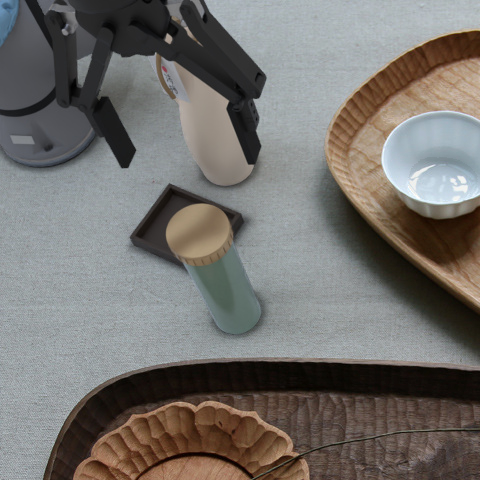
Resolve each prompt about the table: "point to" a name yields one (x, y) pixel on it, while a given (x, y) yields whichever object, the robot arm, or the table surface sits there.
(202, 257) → the lid
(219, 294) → the thermos flask
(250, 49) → the table surface
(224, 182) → the water bottle
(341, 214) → the table surface
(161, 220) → the lid tray
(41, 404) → the table surface
